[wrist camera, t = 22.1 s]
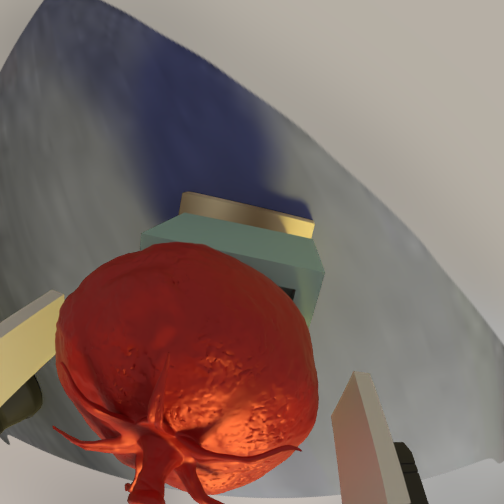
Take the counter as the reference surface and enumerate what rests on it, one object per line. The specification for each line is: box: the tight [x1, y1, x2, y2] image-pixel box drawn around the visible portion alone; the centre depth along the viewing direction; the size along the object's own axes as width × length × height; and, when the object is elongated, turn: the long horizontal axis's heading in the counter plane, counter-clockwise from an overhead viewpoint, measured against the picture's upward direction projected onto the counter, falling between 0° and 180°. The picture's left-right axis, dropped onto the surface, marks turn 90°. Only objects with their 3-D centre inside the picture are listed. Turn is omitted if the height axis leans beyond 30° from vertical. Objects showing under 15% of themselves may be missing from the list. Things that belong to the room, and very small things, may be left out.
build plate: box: [179, 191, 315, 239], centre depth 23 cm, size 10×10×6 cm
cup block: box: [140, 213, 325, 329], centre depth 17 cm, size 8×8×6 cm
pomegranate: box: [53, 242, 319, 504], centre depth 10 cm, size 10×10×9 cm
